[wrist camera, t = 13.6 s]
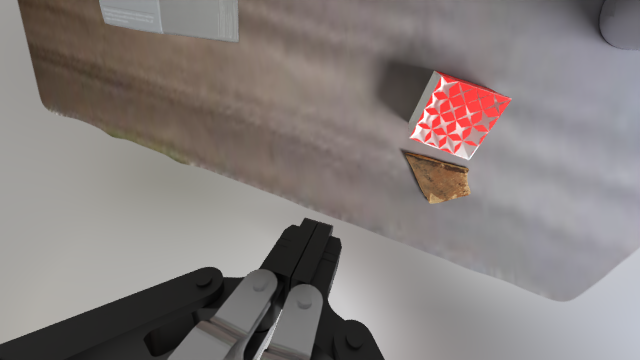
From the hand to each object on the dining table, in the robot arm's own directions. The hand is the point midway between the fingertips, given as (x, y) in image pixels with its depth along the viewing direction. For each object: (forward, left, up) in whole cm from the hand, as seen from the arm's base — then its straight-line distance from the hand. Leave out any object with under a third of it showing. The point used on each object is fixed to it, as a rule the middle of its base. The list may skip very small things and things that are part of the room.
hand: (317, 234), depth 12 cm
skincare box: (+28, -10, -31) cm, 43 cm away
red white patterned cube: (-10, -2, -31) cm, 33 cm away
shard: (-12, +10, -32) cm, 35 cm away
